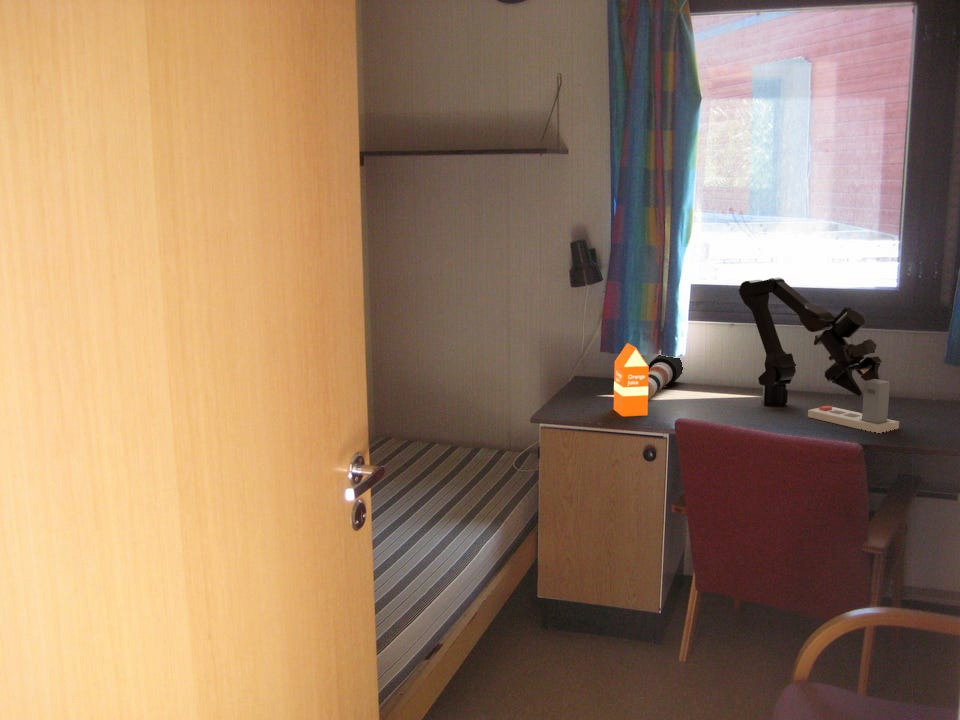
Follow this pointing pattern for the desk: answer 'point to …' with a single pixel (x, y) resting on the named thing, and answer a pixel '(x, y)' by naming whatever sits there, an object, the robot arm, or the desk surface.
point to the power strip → (850, 419)
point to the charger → (875, 401)
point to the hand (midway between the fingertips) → (871, 393)
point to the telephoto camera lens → (663, 373)
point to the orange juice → (630, 383)
